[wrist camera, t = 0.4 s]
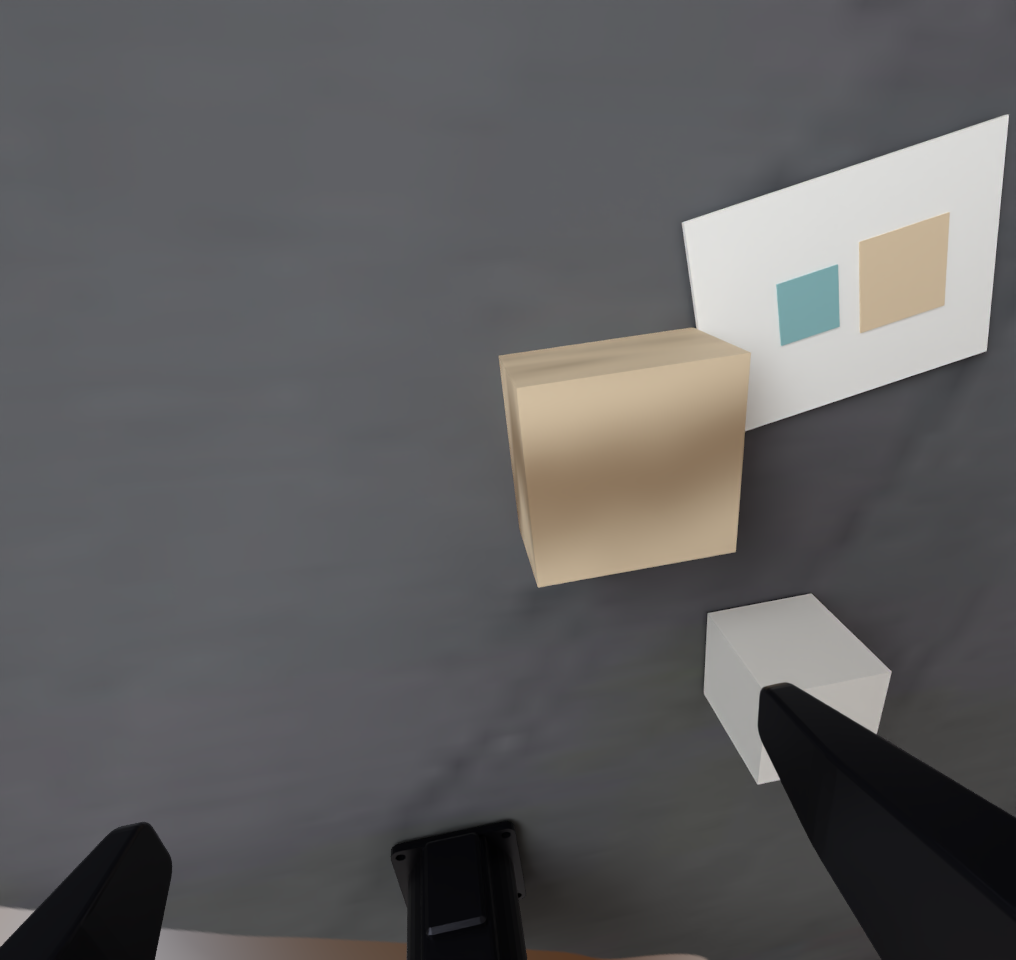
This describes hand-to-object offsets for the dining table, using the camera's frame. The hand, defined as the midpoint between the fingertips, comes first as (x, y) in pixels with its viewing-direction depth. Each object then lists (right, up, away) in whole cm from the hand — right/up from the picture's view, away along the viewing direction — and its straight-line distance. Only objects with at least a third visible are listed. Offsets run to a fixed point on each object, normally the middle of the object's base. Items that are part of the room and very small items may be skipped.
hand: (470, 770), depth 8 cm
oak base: (+4, +6, +13) cm, 15 cm away
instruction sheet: (+12, +11, +12) cm, 20 cm away
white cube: (+12, -4, +19) cm, 23 cm away
